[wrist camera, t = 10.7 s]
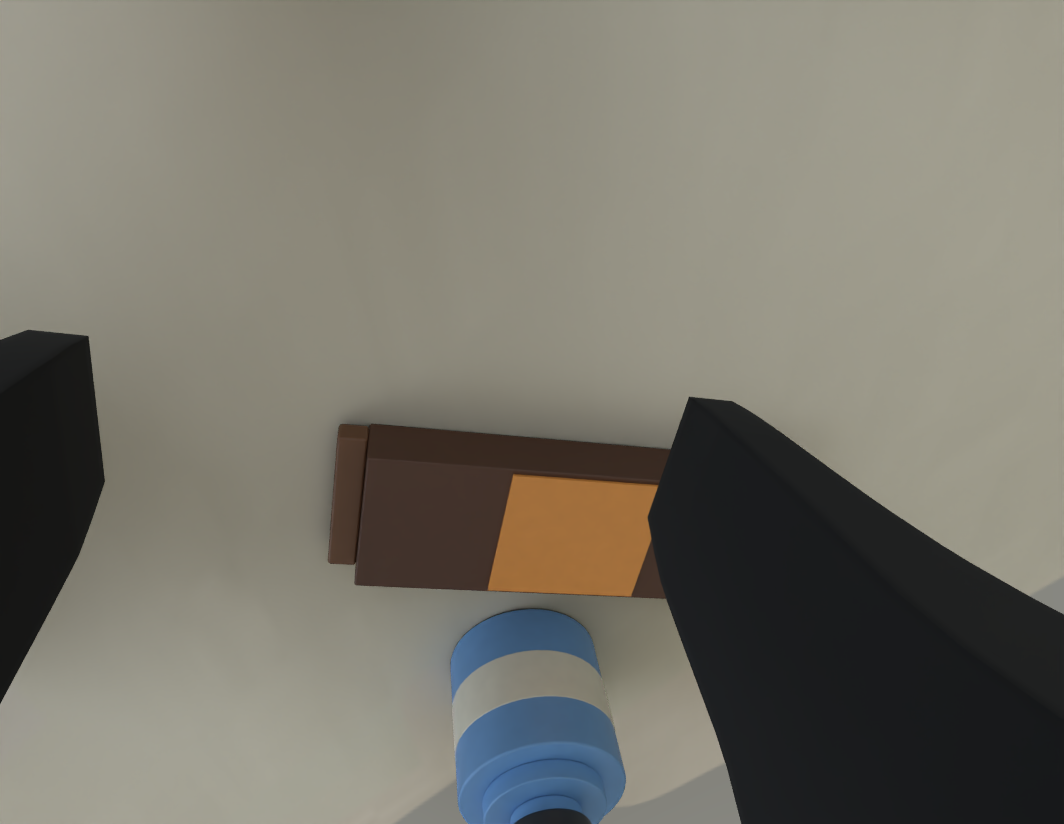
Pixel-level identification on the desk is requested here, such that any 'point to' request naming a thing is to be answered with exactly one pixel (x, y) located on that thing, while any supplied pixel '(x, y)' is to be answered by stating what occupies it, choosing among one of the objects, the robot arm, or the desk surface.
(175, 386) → the desk surface
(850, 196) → the desk surface
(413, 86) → the desk surface
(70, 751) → the desk surface
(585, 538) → the snack bar
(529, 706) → the bottle
